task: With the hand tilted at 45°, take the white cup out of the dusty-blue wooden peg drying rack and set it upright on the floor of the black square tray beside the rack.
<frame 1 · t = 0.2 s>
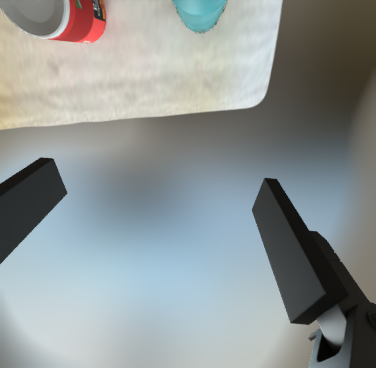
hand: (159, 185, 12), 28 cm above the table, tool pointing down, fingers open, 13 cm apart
beverage bottle: (199, 6, 27), on the table
canned food: (83, 12, 28), on the table
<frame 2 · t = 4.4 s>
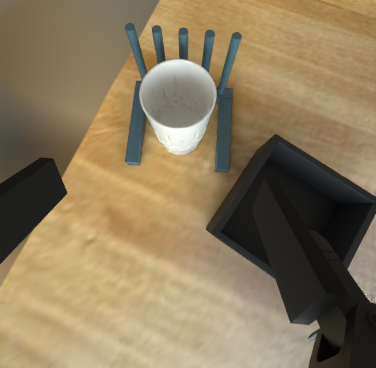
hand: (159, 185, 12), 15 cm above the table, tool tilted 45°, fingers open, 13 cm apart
black square tray: (273, 215, 26), on the table
drying rack: (180, 134, 28), on the table
white cup: (180, 135, 28), on the table
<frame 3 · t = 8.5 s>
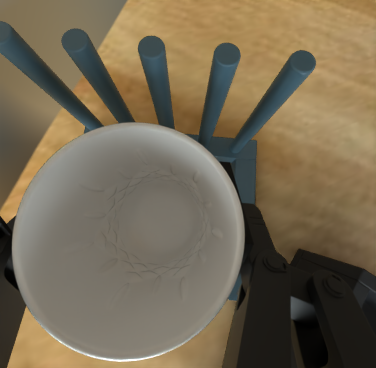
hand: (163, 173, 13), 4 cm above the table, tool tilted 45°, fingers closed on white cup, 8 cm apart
drying rack: (164, 219, 16), on the table
white cup: (164, 219, 16), on the table, touching gripper
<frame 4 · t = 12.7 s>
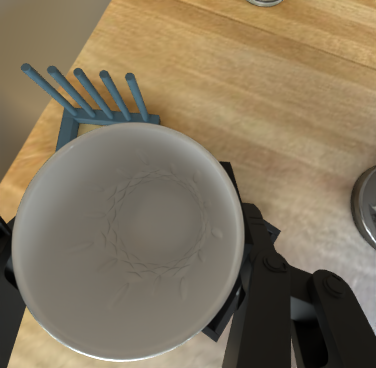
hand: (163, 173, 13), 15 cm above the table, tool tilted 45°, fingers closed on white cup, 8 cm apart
black square tray: (195, 240, 27), on the table
drying rack: (109, 159, 29), on the table
white cup: (164, 219, 16), point 12 cm above the table, touching gripper
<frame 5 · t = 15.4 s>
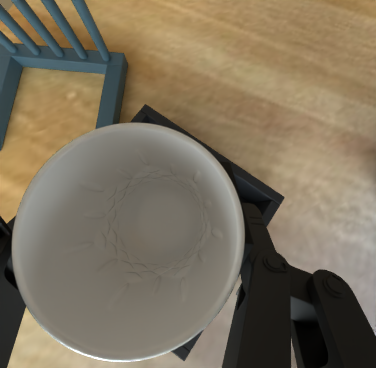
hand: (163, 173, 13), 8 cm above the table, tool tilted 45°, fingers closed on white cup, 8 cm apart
black square tray: (169, 217, 20), on the table
drying rack: (58, 112, 22), on the table
white cup: (164, 219, 16), point 4 cm above the table, touching gripper
when the fingers open (5 cm above the table, at t = 17.6 s): white cup stays where it is, resting on black square tray.
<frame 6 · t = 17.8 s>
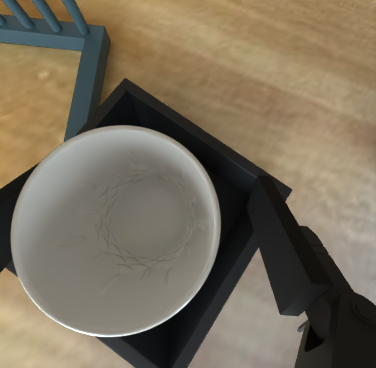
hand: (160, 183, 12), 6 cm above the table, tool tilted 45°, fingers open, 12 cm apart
black square tray: (156, 214, 17), on the table
drying rack: (27, 93, 19), on the table
white cup: (155, 215, 17), point 1 cm above the table, touching black square tray
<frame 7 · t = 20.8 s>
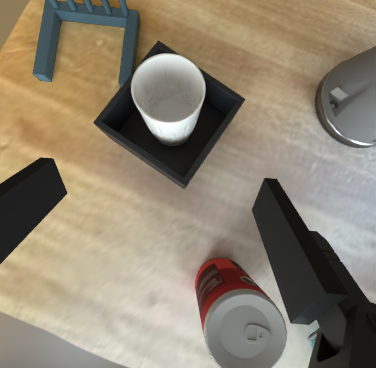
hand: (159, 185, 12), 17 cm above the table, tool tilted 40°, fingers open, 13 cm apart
black square tray: (172, 128, 30), on the table
canned food: (219, 281, 28), on the table
drying rack: (91, 54, 30), on the table
white cup: (172, 127, 29), point 1 cm above the table, touching black square tray
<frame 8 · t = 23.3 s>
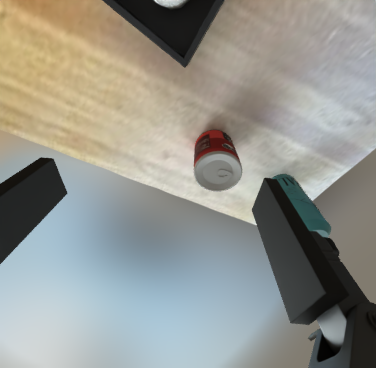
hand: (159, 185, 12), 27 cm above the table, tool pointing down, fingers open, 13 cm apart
beverage bottle: (277, 180, 43), on the table
canned food: (213, 145, 38), on the table
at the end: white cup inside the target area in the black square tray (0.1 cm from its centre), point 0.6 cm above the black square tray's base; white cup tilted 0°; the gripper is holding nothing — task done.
